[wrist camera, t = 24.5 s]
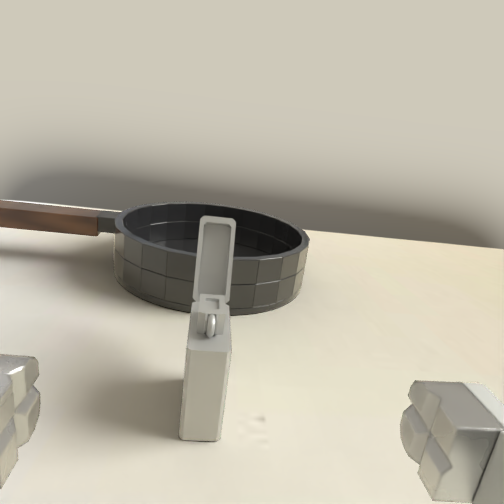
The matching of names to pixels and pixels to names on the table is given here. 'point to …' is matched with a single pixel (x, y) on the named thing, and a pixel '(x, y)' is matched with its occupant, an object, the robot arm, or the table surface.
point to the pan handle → (56, 218)
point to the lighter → (209, 333)
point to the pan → (185, 253)
